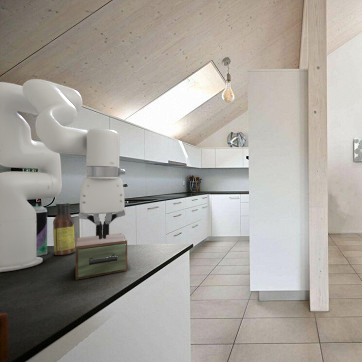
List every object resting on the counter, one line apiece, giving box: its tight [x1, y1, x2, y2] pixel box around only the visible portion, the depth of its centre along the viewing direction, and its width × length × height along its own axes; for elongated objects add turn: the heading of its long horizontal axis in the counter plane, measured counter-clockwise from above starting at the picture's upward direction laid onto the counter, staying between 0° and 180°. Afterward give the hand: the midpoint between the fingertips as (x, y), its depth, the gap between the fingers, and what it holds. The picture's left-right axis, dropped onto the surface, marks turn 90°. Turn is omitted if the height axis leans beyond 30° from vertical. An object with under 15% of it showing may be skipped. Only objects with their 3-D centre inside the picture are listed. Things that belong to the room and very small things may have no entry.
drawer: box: [78, 243, 125, 277], centre depth 80 cm, size 18×11×8 cm, turn 38°
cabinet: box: [75, 232, 128, 280], centre depth 84 cm, size 15×13×10 cm
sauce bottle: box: [52, 202, 76, 256], centre depth 100 cm, size 7×6×20 cm
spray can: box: [31, 202, 48, 257], centre depth 99 cm, size 6×6×20 cm
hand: (102, 237), depth 73 cm, fingers closed
